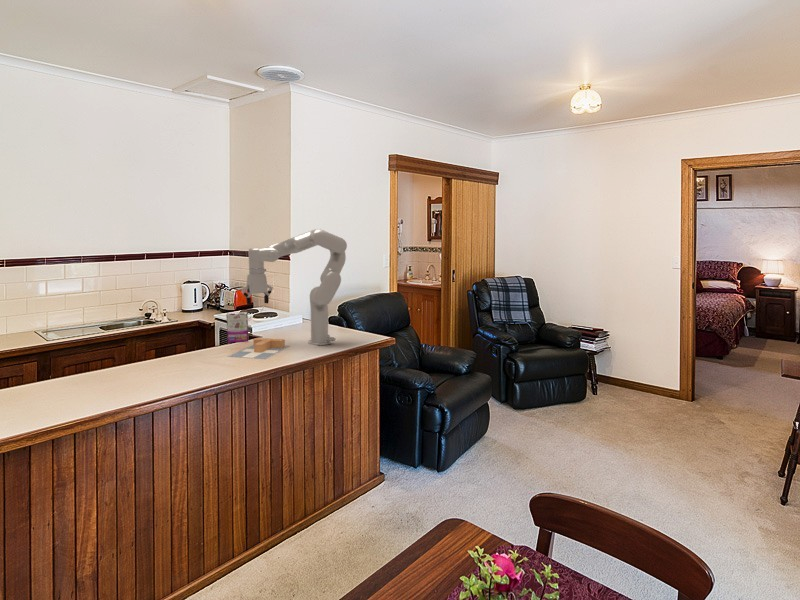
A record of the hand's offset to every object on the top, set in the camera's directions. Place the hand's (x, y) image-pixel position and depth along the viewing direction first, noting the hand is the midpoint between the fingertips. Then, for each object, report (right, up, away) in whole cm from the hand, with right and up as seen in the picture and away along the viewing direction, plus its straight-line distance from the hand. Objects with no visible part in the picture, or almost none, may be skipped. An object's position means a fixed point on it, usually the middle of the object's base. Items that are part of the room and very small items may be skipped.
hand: (257, 304), depth 273 cm
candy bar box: (-15, -21, +16) cm, 31 cm away
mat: (+3, -25, -7) cm, 26 cm away
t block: (+4, -24, -2) cm, 24 cm away
